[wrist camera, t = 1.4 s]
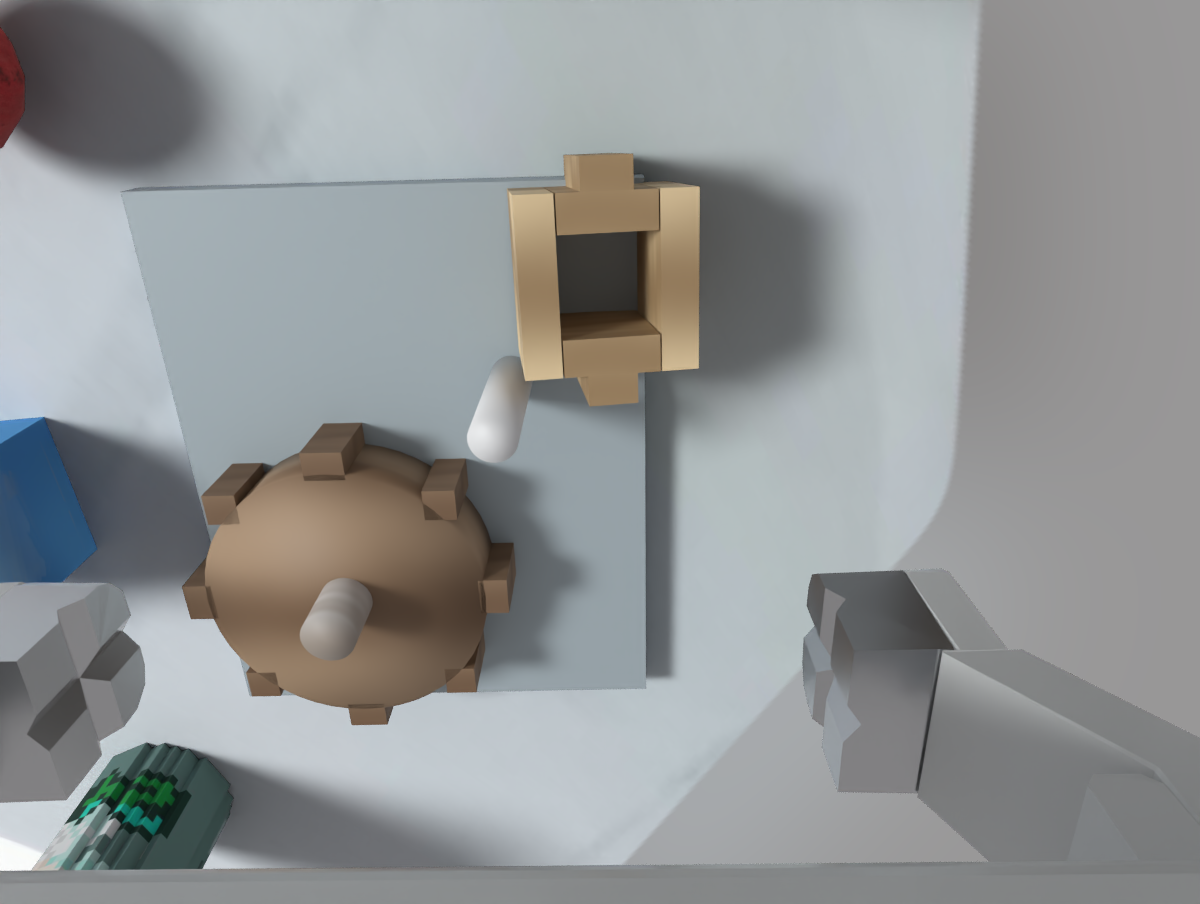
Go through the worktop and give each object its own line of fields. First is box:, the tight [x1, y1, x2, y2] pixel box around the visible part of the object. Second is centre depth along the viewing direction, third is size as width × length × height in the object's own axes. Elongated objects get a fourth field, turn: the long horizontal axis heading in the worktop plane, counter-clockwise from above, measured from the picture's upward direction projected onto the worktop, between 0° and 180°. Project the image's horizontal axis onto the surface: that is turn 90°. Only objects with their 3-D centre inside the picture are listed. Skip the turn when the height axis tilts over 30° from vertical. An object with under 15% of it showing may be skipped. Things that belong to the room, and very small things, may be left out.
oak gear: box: [507, 153, 700, 406], centre depth 27 cm, size 8×6×4 cm
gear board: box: [121, 174, 646, 696], centre depth 30 cm, size 22×18×7 cm
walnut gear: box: [182, 423, 516, 725], centre depth 32 cm, size 12×12×5 cm
